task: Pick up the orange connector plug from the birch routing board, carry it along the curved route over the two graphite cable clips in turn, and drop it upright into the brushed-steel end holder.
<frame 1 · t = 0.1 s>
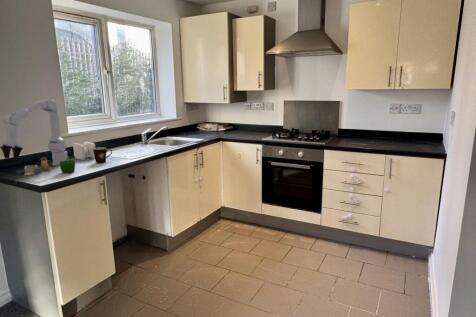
hand: (11, 158, 189), 11 cm above the worktop, tool pointing down, fingers open, 7 cm apart
bell pepper: (68, 173, 197), on the worktop
white lumpy block: (85, 158, 238), on the worktop
coffee mug: (103, 162, 226), on the worktop
connector plug: (45, 168, 206), point 1 cm above the worktop, touching routing board
clip 1: (45, 170, 201), resting on routing board
routing board: (38, 171, 201), on the worktop
end holder: (31, 171, 200), resting on routing board
clip 2: (38, 172, 196), resting on routing board
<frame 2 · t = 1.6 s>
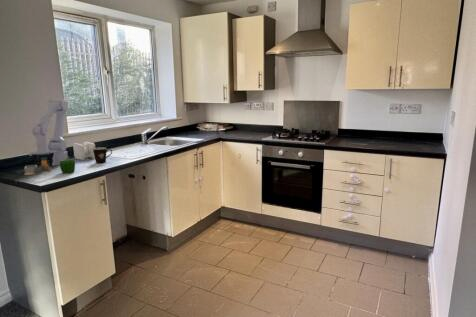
hand: (44, 165, 205), 3 cm above the worktop, tool pointing down, fingers open, 6 cm apart
nothing on the worktop moved.
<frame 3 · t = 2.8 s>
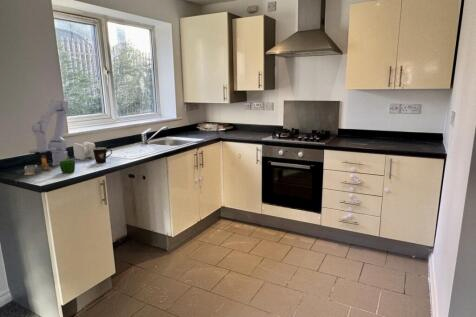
hand: (44, 163, 205), 4 cm above the worktop, tool pointing down, fingers closed on connector plug, 3 cm apart
connector plug: (45, 166, 205), point 2 cm above the worktop, touching gripper
everything else where it was.
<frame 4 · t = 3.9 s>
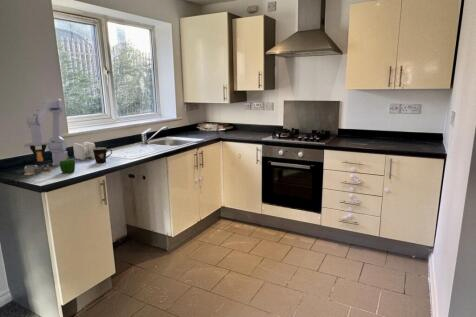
hand: (39, 157, 196), 10 cm above the worktop, tool pointing down, fingers closed on connector plug, 3 cm apart
connector plug: (40, 160, 197), point 7 cm above the worktop, touching gripper
everything else where it was.
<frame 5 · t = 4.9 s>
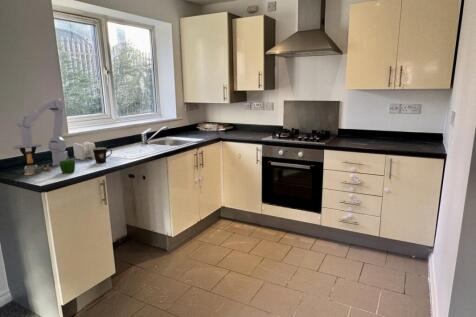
hand: (29, 159, 198), 8 cm above the worktop, tool pointing down, fingers closed on connector plug, 3 cm apart
connector plug: (30, 162, 198), point 6 cm above the worktop, touching gripper
everything else where it was.
when the fingers open (4 cm above the worktop, at t = 5.8 s): connector plug drops 2 cm, resting on routing board.
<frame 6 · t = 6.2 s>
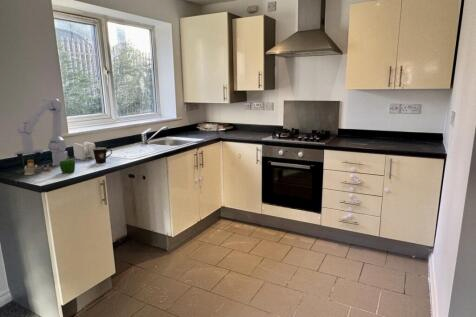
hand: (30, 165, 199), 4 cm above the worktop, tool pointing down, fingers open, 7 cm apart
connector plug: (31, 171, 200), point 1 cm above the worktop, touching routing board
everything else where it was.
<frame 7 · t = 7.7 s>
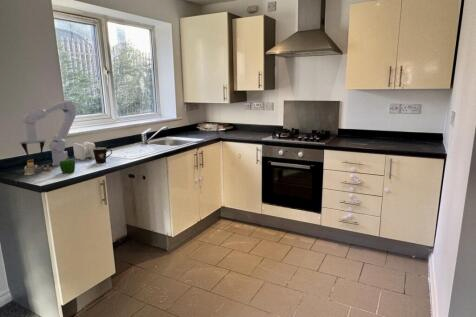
hand: (34, 154, 206), 9 cm above the worktop, tool pointing down, fingers open, 7 cm apart
nothing on the worktop moved.
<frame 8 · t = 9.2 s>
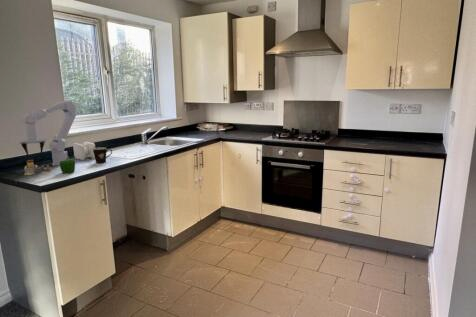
hand: (34, 154, 206), 9 cm above the worktop, tool pointing down, fingers open, 7 cm apart
nothing on the worktop moved.
at the end: connector plug 0.1 cm off-centre on the end holder, point 0.0 cm above the end holder's base; connector plug tilted 1°; the gripper is holding nothing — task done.
